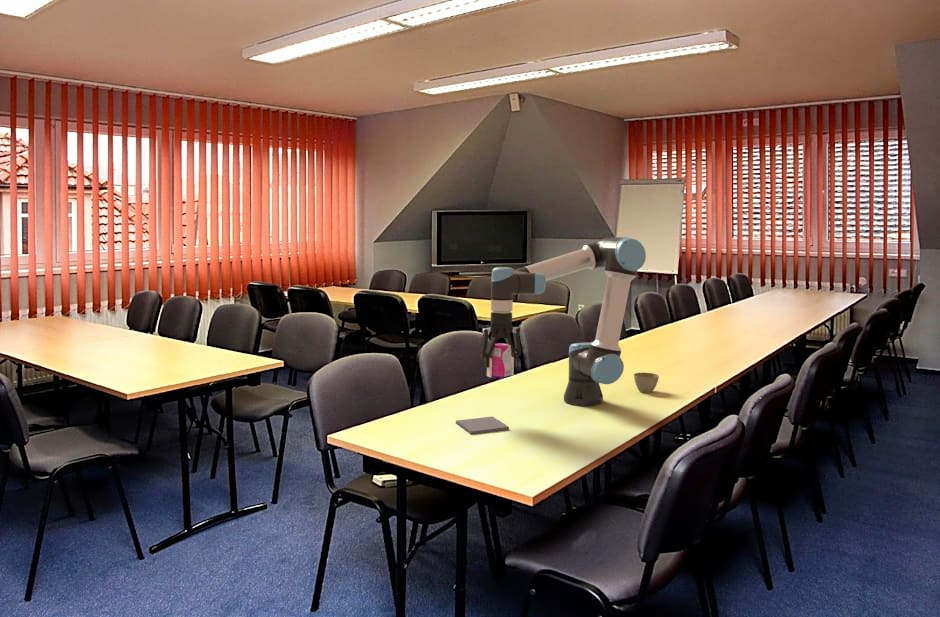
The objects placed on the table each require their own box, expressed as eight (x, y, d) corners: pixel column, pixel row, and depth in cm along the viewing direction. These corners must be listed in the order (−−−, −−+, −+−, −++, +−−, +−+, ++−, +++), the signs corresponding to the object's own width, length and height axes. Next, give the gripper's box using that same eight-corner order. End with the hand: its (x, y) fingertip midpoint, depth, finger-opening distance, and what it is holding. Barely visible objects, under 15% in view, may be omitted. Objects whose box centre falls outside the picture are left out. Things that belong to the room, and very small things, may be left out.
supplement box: (498, 374, 264) (499, 342, 263) (511, 376, 260) (512, 344, 259) (488, 376, 260) (489, 344, 258) (501, 379, 256) (502, 346, 254)
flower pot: (661, 390, 304) (662, 374, 303) (653, 396, 296) (654, 378, 295) (638, 388, 310) (638, 371, 309) (629, 392, 301) (630, 375, 300)
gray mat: (492, 419, 263) (492, 416, 262) (509, 429, 250) (509, 426, 249) (455, 423, 257) (455, 420, 257) (470, 434, 244) (470, 431, 244)
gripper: (523, 309, 264) (522, 372, 267) (470, 311, 257) (469, 375, 260) (532, 312, 257) (530, 376, 260) (478, 313, 250) (476, 379, 253)
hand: (500, 375), depth 260 cm, fingers closed on supplement box, 8 cm apart
